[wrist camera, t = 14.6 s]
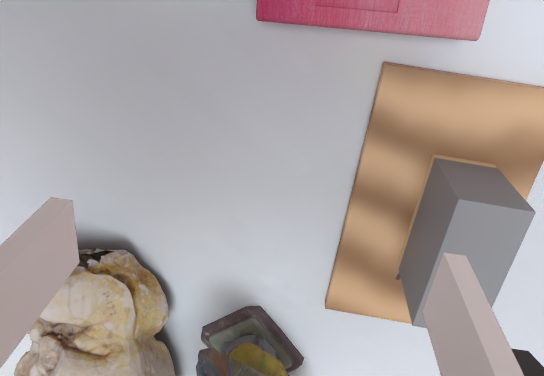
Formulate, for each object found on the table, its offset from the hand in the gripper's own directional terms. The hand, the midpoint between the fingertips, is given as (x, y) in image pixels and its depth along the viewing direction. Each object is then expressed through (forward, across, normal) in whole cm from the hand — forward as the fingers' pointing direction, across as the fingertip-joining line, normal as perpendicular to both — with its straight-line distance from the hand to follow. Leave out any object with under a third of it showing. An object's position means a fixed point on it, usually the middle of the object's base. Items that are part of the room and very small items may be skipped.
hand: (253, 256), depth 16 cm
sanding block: (+21, +15, -9) cm, 28 cm away
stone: (+23, -14, -29) cm, 40 cm away
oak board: (+22, +14, -9) cm, 28 cm away
